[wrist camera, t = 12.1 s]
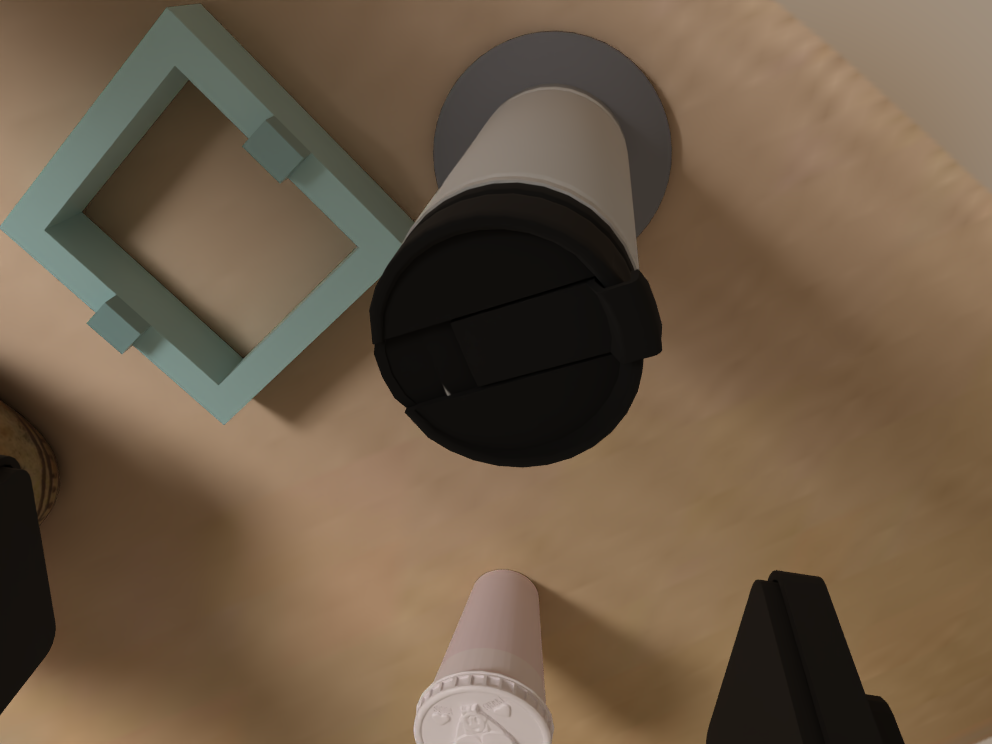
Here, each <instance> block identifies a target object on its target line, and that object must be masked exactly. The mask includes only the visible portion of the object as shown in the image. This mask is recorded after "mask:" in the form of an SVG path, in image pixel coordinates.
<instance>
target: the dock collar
mask: <svg viewBox="0 0 992 744" xmlns="http://www.w3.org/2000/svg"><path fill="white" fill-rule="evenodd" d="M188 80H190V81H191V82H192V83H193V84H194V85H195V86H196V87H197V88H198V89H199V90H200V91H201V92H202V93H203V94H204V95H205V96H206V97H207V98H208V99H209V100H210V101H211V102H212V103H213V104H214V105H215V106H216V107H217V108H218V109H219V110H220V111H221V112H222V113H223V114H224V115H225V116H226V117H227V118H228V119H229V120H230V121H231V122H232V123H233V124H234V125H235V126H236V127H237V128H238V129H239V130H240V131H241V132H242V133H243V134H244V135H245V136H246V137H248V138H249V139H248V140H247V141H246V142H245V143H244V145H243V146H242V147H243V148H244V149H245V150H246V151H247V152H248V153H249V154H250V155H251V156H252V157H253V158H254V159H255V160H256V161H257V162H258V163H259V164H260V165H262V166H263V167H264V168H265V169H266V170H267V171H268V172H269V173H270V174H271V175H272V176H273V177H274V178H275V179H276V180H277V181H278V182H279V183H282V182H283V181H284V180H286V179H287V178H289V179H290V180H291V181H292V182H293V183H294V184H295V185H296V186H297V187H298V188H299V189H300V190H301V191H302V192H303V193H304V194H305V195H306V196H307V197H308V198H309V199H310V200H311V201H312V202H313V203H314V204H315V205H316V206H317V207H318V208H319V209H320V210H321V211H322V212H323V213H324V214H325V215H326V216H327V217H328V218H329V219H330V220H331V221H332V222H333V223H334V224H335V225H336V226H337V227H338V228H339V229H340V230H341V231H342V232H343V233H344V234H345V235H346V236H348V237H349V238H350V239H351V240H352V241H353V242H354V243H355V244H356V245H357V247H356V248H355V249H354V250H353V251H352V252H351V253H350V254H349V255H348V256H347V257H346V258H345V259H344V260H343V261H342V262H341V263H340V264H339V265H338V266H337V267H336V268H335V269H334V270H333V271H332V272H331V273H330V274H329V275H328V276H327V277H326V278H325V279H324V280H323V281H322V282H321V283H320V284H319V285H318V286H317V287H316V288H315V289H314V290H313V291H312V292H311V293H310V294H309V295H308V296H306V297H305V298H304V299H303V300H302V301H301V302H300V303H299V304H298V305H297V306H296V307H295V308H294V309H293V310H292V311H291V312H290V313H289V314H288V315H287V316H286V317H285V318H284V319H283V320H282V321H281V322H280V323H279V324H278V325H277V326H276V327H275V328H274V329H273V330H272V331H271V332H270V333H269V334H268V335H267V336H266V337H265V338H264V339H263V340H262V341H261V342H260V343H259V344H258V345H257V346H256V347H255V348H254V349H253V350H252V351H251V352H249V353H248V354H247V355H246V356H245V357H244V358H242V357H241V356H240V355H239V354H238V353H236V352H235V351H234V350H233V349H232V348H231V347H230V346H229V345H228V344H227V343H225V342H224V341H223V340H222V339H221V338H220V337H219V336H218V335H217V334H216V333H214V332H213V331H212V330H211V329H210V328H209V327H208V326H207V325H206V324H205V323H203V322H202V321H201V320H200V319H199V318H198V317H197V316H196V315H195V314H194V313H192V312H191V311H190V310H189V309H188V308H187V307H186V306H185V305H184V304H182V303H181V302H180V301H179V300H178V299H177V298H176V297H175V296H174V295H173V294H171V293H170V292H169V291H168V290H167V289H166V288H165V287H164V286H163V285H162V284H160V283H159V282H158V281H157V280H156V279H155V278H154V277H153V276H152V275H151V274H149V273H148V272H147V271H146V270H145V269H144V268H143V267H142V266H141V265H140V264H138V263H137V262H136V261H135V260H134V259H133V258H132V257H131V256H130V255H129V254H127V253H126V252H125V251H124V250H123V249H122V248H121V247H120V246H119V245H118V244H116V243H115V242H114V241H113V240H112V239H111V238H110V237H109V236H108V235H106V234H105V233H104V232H103V231H102V230H101V229H100V228H99V227H98V226H97V225H95V224H94V223H93V222H92V221H91V220H90V219H89V218H88V217H87V216H86V215H84V214H83V213H82V211H83V210H84V209H85V207H86V206H87V205H88V204H89V202H90V201H91V200H92V199H93V198H94V196H95V195H96V194H97V193H98V191H99V190H100V189H101V188H102V186H103V185H104V184H105V183H106V181H107V180H108V179H109V178H110V177H111V175H112V174H113V173H114V172H115V170H116V169H117V168H118V167H119V165H120V164H121V163H122V162H123V160H124V159H125V158H126V157H127V156H128V154H129V153H130V152H131V151H132V149H133V148H134V147H135V146H136V144H137V143H138V142H139V141H140V139H141V138H142V137H143V136H144V135H145V133H146V132H147V131H148V130H149V128H150V127H151V126H152V125H153V123H154V122H155V121H156V120H157V118H158V117H159V116H160V115H161V114H162V112H163V111H164V110H165V109H166V107H167V106H168V105H169V104H170V102H171V101H172V100H173V99H174V97H175V96H176V95H177V94H178V93H179V91H180V90H181V89H182V88H183V86H184V85H185V84H186V83H187V81H188ZM414 223H415V222H414V221H413V220H412V219H411V218H410V217H409V216H408V215H407V214H406V213H405V212H404V211H403V210H402V209H401V208H400V207H399V206H398V205H397V204H396V203H395V202H394V201H393V200H392V199H391V198H390V197H389V196H388V195H387V194H386V193H385V192H384V191H383V190H382V189H381V188H380V186H379V185H378V184H377V183H376V182H375V181H374V180H373V179H372V178H371V177H370V176H369V175H368V174H367V173H366V172H365V171H364V170H363V169H362V168H361V167H360V166H359V165H358V164H357V163H356V162H355V161H354V160H353V159H352V158H351V157H350V156H349V155H348V154H347V153H346V152H345V151H344V150H343V149H342V148H341V147H340V146H339V145H338V144H337V143H336V142H335V141H334V139H333V138H332V137H331V136H330V135H329V134H328V133H327V132H326V131H325V130H324V129H323V128H322V127H321V126H320V125H319V124H318V123H317V122H316V121H315V120H314V119H313V118H312V117H311V116H310V115H309V114H308V113H307V112H306V111H305V110H304V109H303V108H302V107H301V106H300V105H299V104H298V103H297V102H296V101H295V100H294V99H293V98H292V97H291V96H290V95H289V94H288V93H287V91H286V90H285V89H284V88H283V87H282V86H281V85H280V84H279V83H278V82H277V81H276V80H275V79H274V78H273V77H272V76H271V75H270V74H269V73H268V72H267V71H266V70H265V69H264V68H263V67H262V66H261V65H260V64H259V63H258V62H257V61H256V60H255V59H254V58H253V57H252V56H251V55H250V54H249V53H248V52H247V51H246V50H245V49H244V48H243V47H242V46H241V45H240V43H239V42H238V41H237V40H236V39H235V38H234V37H233V36H232V35H231V34H230V33H229V32H228V31H227V30H226V29H225V28H224V27H223V26H222V25H221V24H220V23H219V22H218V21H217V20H216V19H215V18H214V17H213V16H212V15H211V14H210V13H209V12H208V11H207V10H206V9H205V8H204V7H203V6H202V5H201V4H200V3H199V4H191V5H182V6H173V7H167V8H166V9H165V10H164V12H163V13H162V14H161V15H160V17H159V18H158V19H157V21H156V22H155V23H154V25H153V26H152V27H151V29H150V30H149V31H148V33H147V34H146V35H145V36H144V38H143V39H142V40H141V42H140V43H139V44H138V46H137V47H136V48H135V50H134V51H133V52H132V54H131V55H130V56H129V58H128V59H127V60H126V61H125V63H124V64H123V65H122V67H121V68H120V69H119V71H118V72H117V73H116V75H115V76H114V77H113V79H112V80H111V81H110V82H109V84H108V85H107V86H106V88H105V89H104V90H103V92H102V93H101V94H100V96H99V97H98V98H97V100H96V101H95V102H94V103H93V105H92V106H91V107H90V109H89V110H88V111H87V113H86V114H85V115H84V117H83V118H82V119H81V121H80V122H79V123H78V124H77V126H76V127H75V128H74V130H73V131H72V132H71V134H70V135H69V136H68V138H67V139H66V140H65V142H64V143H63V144H62V145H61V147H60V148H59V149H58V151H57V152H56V153H55V155H54V156H53V157H52V159H51V160H50V161H49V163H48V164H47V165H46V166H45V168H44V169H43V170H42V172H41V173H40V174H39V176H38V177H37V178H36V180H35V181H34V182H33V184H32V185H31V186H30V187H29V189H28V190H27V191H26V193H25V194H24V195H23V197H22V198H21V199H20V201H19V202H18V203H17V205H16V206H15V207H14V208H13V210H12V211H11V212H10V214H9V215H8V216H7V218H6V219H5V220H4V222H3V223H2V224H1V226H0V229H1V230H2V231H3V232H4V233H6V234H7V235H8V236H9V237H10V238H11V239H12V240H13V241H15V242H16V243H17V244H18V245H19V246H20V247H21V248H23V249H24V250H25V251H26V252H27V253H28V254H29V255H31V256H32V257H33V258H34V259H35V260H36V261H37V262H39V263H40V264H41V265H42V266H43V267H44V268H45V269H47V270H48V271H49V272H50V273H51V274H52V275H53V276H55V277H56V278H57V279H58V280H59V281H60V282H61V283H63V284H64V285H65V286H66V287H67V288H68V289H69V290H70V291H72V292H73V293H74V294H75V295H76V296H77V297H78V298H80V299H81V300H82V301H83V302H84V303H85V304H86V305H88V306H89V307H90V308H91V309H92V310H93V311H94V312H96V313H95V314H94V315H93V317H92V318H91V319H90V320H89V321H88V322H87V324H88V325H89V326H90V327H91V328H92V329H94V330H95V331H96V332H97V333H98V334H99V335H100V336H102V337H103V338H104V339H105V340H106V341H107V342H108V343H110V344H111V345H112V346H113V347H114V348H115V349H116V350H118V351H119V352H120V353H121V354H123V353H124V352H126V351H127V350H128V349H129V348H130V347H132V346H134V347H135V348H137V349H138V350H139V351H140V352H141V353H142V354H143V355H145V356H146V357H147V358H148V359H149V360H150V361H151V362H153V363H154V364H155V365H156V366H157V367H158V368H159V369H161V370H162V371H163V372H164V373H165V374H166V375H167V376H169V377H170V378H171V379H172V380H173V381H174V382H175V383H176V384H178V385H179V386H180V387H181V388H182V389H183V390H184V391H186V392H187V393H188V394H189V395H190V396H191V397H192V398H194V399H195V400H196V401H197V402H198V403H199V404H200V405H202V406H203V407H204V408H205V409H206V410H207V411H208V412H210V413H211V414H212V415H213V416H214V417H215V418H216V419H218V420H219V421H220V422H221V423H222V424H223V425H225V424H226V423H227V422H228V421H229V420H230V419H231V418H232V417H233V416H234V415H235V414H236V413H237V412H239V411H240V410H241V409H242V408H243V407H244V406H245V405H246V404H247V403H248V402H249V401H250V400H251V399H252V398H253V397H254V396H255V395H256V394H258V393H259V392H260V391H261V390H262V389H263V388H264V387H265V386H266V385H267V384H268V383H269V382H270V381H271V380H272V379H273V378H274V377H275V376H277V375H278V374H279V373H280V372H281V371H282V370H283V369H284V368H285V367H286V366H287V365H288V364H289V363H290V362H291V361H292V360H293V359H294V358H296V357H297V356H298V355H299V354H300V353H301V352H302V351H303V350H304V349H305V348H306V347H307V346H308V345H309V344H310V343H311V342H312V341H313V340H315V339H316V338H317V337H318V336H319V335H320V334H321V333H322V332H323V331H324V330H325V329H326V328H327V327H328V326H329V325H330V324H331V323H332V322H334V321H335V320H336V319H337V318H338V317H339V316H340V315H341V314H342V313H343V312H344V311H345V310H346V309H347V308H348V307H349V306H350V305H351V304H353V303H354V302H355V301H356V300H357V299H358V298H359V297H360V296H361V295H362V294H363V293H364V292H365V291H366V290H367V289H368V288H369V287H370V286H372V285H373V284H374V283H375V282H376V281H377V280H378V279H379V278H380V277H381V276H382V274H383V272H384V270H385V268H386V267H387V265H388V264H389V262H390V261H391V259H392V258H393V256H394V255H395V254H396V252H397V251H398V249H399V248H400V246H401V244H402V242H403V240H404V239H405V237H406V235H407V233H408V231H409V230H410V228H411V227H412V226H413V225H414Z"/></svg>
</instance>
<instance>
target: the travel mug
mask: <svg viewBox="0 0 992 744" xmlns="http://www.w3.org/2000/svg"><path fill="white" fill-rule="evenodd" d="M369 312H370V322H371V332H372V342H373V344H375V348H374V355H375V358H376V361H377V364H378V367H379V369H380V372H381V375H382V377H383V379H384V381H385V383H386V384H387V386H388V388H389V389H390V391H391V393H392V394H393V396H394V398H395V399H396V400H398V401H399V402H400V403H401V404H402V405H404V406H405V407H406V410H405V413H406V414H407V415H408V416H409V417H410V418H411V420H412V421H413V422H414V423H415V424H416V425H417V426H418V427H419V428H420V429H421V430H422V431H423V432H424V434H425V435H426V436H427V437H428V438H430V439H431V440H433V441H435V442H436V443H438V444H440V445H441V446H443V447H445V448H446V449H448V450H450V451H452V452H455V453H457V454H460V455H462V456H464V457H467V458H469V459H472V460H475V461H479V462H484V463H488V464H492V465H497V466H509V467H532V466H541V465H549V464H552V463H556V462H559V461H563V460H566V459H569V458H572V457H574V456H576V455H578V454H580V453H582V452H584V451H586V450H588V449H590V448H592V447H593V446H595V445H596V444H597V443H598V442H600V441H601V440H602V439H603V438H605V437H606V436H607V435H608V434H610V433H611V432H612V431H613V430H614V428H615V427H616V426H617V425H618V424H619V422H620V421H621V420H622V419H623V417H624V416H625V415H626V414H627V412H628V410H629V408H630V406H631V404H632V402H633V400H634V398H635V396H636V394H637V392H638V388H639V384H640V380H641V375H642V369H643V359H644V358H648V357H651V356H655V355H657V354H659V353H660V352H661V351H662V342H661V337H662V323H661V319H660V316H659V312H658V308H657V305H656V302H655V299H654V296H653V293H652V291H651V288H650V285H649V283H648V281H647V279H646V278H645V277H644V276H643V274H642V273H641V272H640V271H639V261H638V251H637V241H636V231H635V220H634V210H633V200H632V190H631V180H630V169H629V159H628V150H627V145H626V140H625V136H624V133H623V131H622V129H621V126H620V124H619V122H618V120H617V119H616V117H615V116H614V114H613V113H612V112H611V110H610V109H609V108H608V107H607V106H606V105H605V104H604V103H603V102H602V101H601V100H600V99H598V98H597V97H595V96H594V95H592V94H590V93H589V92H587V91H585V90H582V89H580V88H577V87H574V86H572V85H565V84H558V83H553V84H540V85H536V86H533V87H529V88H526V89H524V90H522V91H520V92H518V93H516V94H514V95H512V96H511V97H510V98H509V99H507V100H506V101H505V102H503V103H502V104H501V105H500V106H499V107H498V109H497V110H496V111H495V112H494V113H493V114H492V116H491V117H490V118H489V120H488V121H487V123H486V124H485V125H484V127H483V128H482V130H481V131H480V132H479V134H478V135H477V137H476V138H475V139H474V141H473V142H472V143H471V145H470V146H469V148H468V149H467V150H466V152H465V153H464V155H463V156H462V157H461V159H460V160H459V162H458V163H457V164H456V166H455V167H454V169H453V170H452V171H451V173H450V174H449V175H448V177H447V178H446V180H445V181H444V182H443V184H442V185H441V187H440V188H439V189H438V191H437V192H436V194H435V195H434V196H433V198H432V199H431V201H430V202H429V203H428V205H427V206H426V207H425V209H424V210H423V212H422V213H421V214H420V216H419V217H418V219H417V220H416V221H415V223H414V225H413V226H412V227H411V228H410V230H409V231H408V233H407V235H406V237H405V239H404V240H403V242H402V244H401V246H400V248H399V249H398V251H397V252H396V254H395V255H394V256H393V258H392V259H391V261H390V262H389V264H388V265H387V267H386V268H385V270H384V272H383V274H382V276H381V278H380V280H379V282H378V283H377V285H376V287H375V291H374V295H373V298H372V302H371V306H370V309H369Z"/></svg>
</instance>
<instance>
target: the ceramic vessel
mask: <svg viewBox="0 0 992 744" xmlns="http://www.w3.org/2000/svg"><path fill="white" fill-rule="evenodd" d="M0 455H6V456H11V457H13V458H15V459H16V460H17V461H18V462H19V464H20V467H21V469H23V470H26V471H27V472H28V473H29V474H30V477H31V480H32V486H33V492H34V498H35V504H36V510H37V516H38V522H39V525H40V524H41V523H42V521H43V520H44V519H45V518H46V517H47V515H48V514H49V512H50V511H51V509H52V507H53V506H54V504H55V502H56V499H57V495H58V492H59V488H60V478H59V471H58V466H57V462H56V458H55V455H54V453H53V450H52V449H51V448H50V446H49V445H48V443H47V442H46V440H45V439H44V437H43V436H42V435H41V434H40V433H39V432H38V431H37V430H36V429H35V428H34V427H33V426H32V425H31V424H30V423H29V422H28V421H27V420H26V419H25V418H24V417H23V416H21V415H20V414H19V413H17V412H16V411H15V410H13V409H12V408H11V407H9V406H8V405H6V404H5V403H4V402H2V401H1V400H0Z"/></svg>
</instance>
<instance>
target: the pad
mask: <svg viewBox="0 0 992 744" xmlns="http://www.w3.org/2000/svg"><path fill="white" fill-rule="evenodd" d="M553 83H558V84H565V85H572V86H574V87H577V88H580V89H582V90H585V91H587V92H589V93H590V94H592V95H594V96H595V97H597V98H598V99H600V100H601V101H602V102H603V103H604V104H605V105H606V106H607V107H608V108H609V109H610V110H611V112H612V113H613V114H614V116H615V117H616V119H617V120H618V122H619V124H620V126H621V129H622V131H623V133H624V136H625V140H626V145H627V150H628V159H629V169H630V180H631V190H632V200H633V210H634V220H635V231H636V238H637V237H638V236H639V235H640V233H641V232H642V231H643V230H644V229H645V227H646V226H647V225H648V224H649V222H650V221H651V219H652V217H653V216H654V214H655V213H656V211H657V209H658V207H659V205H660V203H661V201H662V198H663V196H664V193H665V190H666V187H667V184H668V180H669V174H670V169H671V156H672V146H671V135H670V130H669V125H668V121H667V117H666V114H665V111H664V109H663V106H662V103H661V101H660V98H659V97H658V95H657V93H656V91H655V89H654V87H653V85H652V84H651V83H650V81H649V80H648V79H647V77H646V76H645V75H644V73H643V72H642V71H641V70H640V69H639V68H638V67H637V66H636V65H635V64H634V63H633V62H632V61H631V60H630V59H629V58H627V57H626V56H625V55H624V54H622V53H621V52H620V51H618V50H617V49H615V48H613V47H611V46H610V45H608V44H606V43H604V42H602V41H599V40H597V39H594V38H592V37H589V36H585V35H581V34H577V33H573V32H563V31H544V32H536V33H531V34H525V35H522V36H519V37H516V38H513V39H510V40H508V41H506V42H504V43H502V44H500V45H498V46H496V47H494V48H493V49H491V50H490V51H488V52H487V53H485V54H484V55H482V56H481V57H480V58H478V59H477V60H476V61H475V62H474V63H473V64H472V65H471V66H470V67H468V68H467V70H466V71H465V72H464V73H463V74H462V75H461V77H460V78H459V79H458V80H457V82H456V83H455V85H454V86H453V88H452V89H451V91H450V92H449V94H448V96H447V98H446V100H445V102H444V105H443V107H442V109H441V112H440V115H439V118H438V122H437V126H436V131H435V137H434V150H433V157H434V170H435V175H436V180H437V185H438V188H440V187H441V185H442V184H443V182H444V181H445V180H446V178H447V177H448V175H449V174H450V173H451V171H452V170H453V169H454V167H455V166H456V164H457V163H458V162H459V160H460V159H461V157H462V156H463V155H464V153H465V152H466V150H467V149H468V148H469V146H470V145H471V143H472V142H473V141H474V139H475V138H476V137H477V135H478V134H479V132H480V131H481V130H482V128H483V127H484V125H485V124H486V123H487V121H488V120H489V118H490V117H491V116H492V114H493V113H494V112H495V111H496V110H497V109H498V107H499V106H500V105H501V104H502V103H503V102H505V101H506V100H507V99H509V98H510V97H511V96H512V95H514V94H516V93H518V92H520V91H522V90H524V89H526V88H529V87H533V86H536V85H540V84H553Z"/></svg>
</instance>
